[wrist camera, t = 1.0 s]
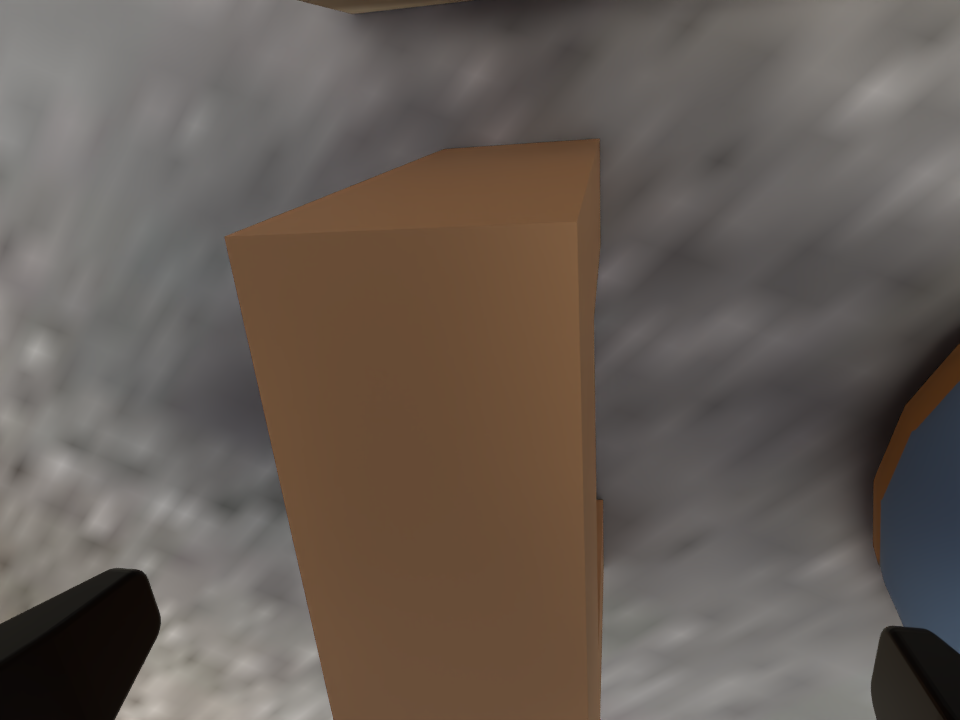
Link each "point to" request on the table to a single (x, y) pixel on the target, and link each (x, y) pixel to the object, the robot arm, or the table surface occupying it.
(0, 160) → the table surface
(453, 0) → the rail
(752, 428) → the table surface
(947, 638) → the doughnut
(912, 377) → the table surface
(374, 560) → the tan wooden block
